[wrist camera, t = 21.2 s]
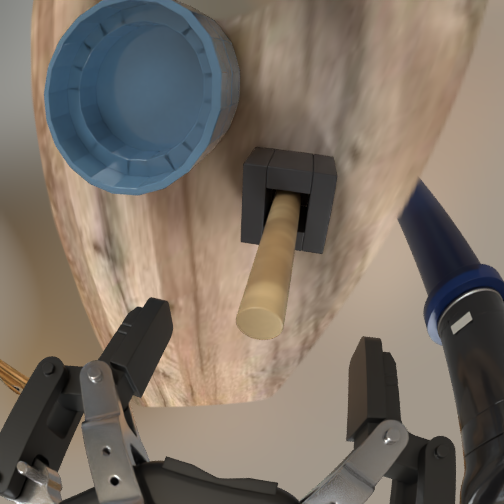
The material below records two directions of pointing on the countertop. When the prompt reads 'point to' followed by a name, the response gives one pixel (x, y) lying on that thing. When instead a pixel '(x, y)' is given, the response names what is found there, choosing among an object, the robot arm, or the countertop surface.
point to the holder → (289, 179)
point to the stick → (271, 271)
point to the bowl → (140, 93)
